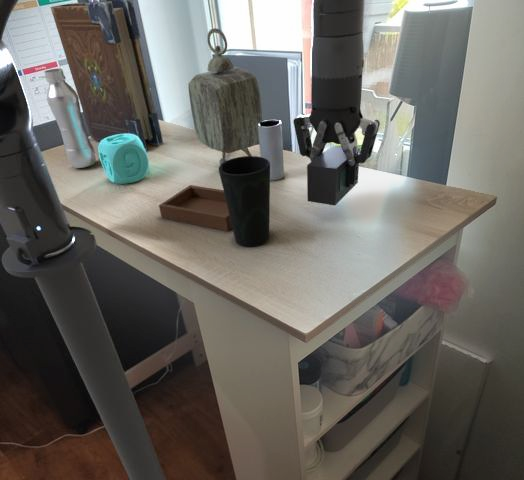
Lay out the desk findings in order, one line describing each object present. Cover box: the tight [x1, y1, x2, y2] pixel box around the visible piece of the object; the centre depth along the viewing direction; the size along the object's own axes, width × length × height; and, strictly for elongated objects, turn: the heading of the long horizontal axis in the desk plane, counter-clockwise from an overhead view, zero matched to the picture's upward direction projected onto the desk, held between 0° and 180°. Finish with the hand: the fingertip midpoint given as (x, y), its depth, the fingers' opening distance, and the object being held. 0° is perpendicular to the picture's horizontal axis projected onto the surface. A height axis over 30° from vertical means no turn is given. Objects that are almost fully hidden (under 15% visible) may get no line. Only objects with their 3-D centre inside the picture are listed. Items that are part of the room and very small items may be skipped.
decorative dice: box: [97, 133, 150, 185], centre depth 101 cm, size 8×8×8 cm
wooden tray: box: [158, 184, 233, 232], centre depth 86 cm, size 10×15×2 cm, turn 60°
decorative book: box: [50, 0, 164, 152], centre depth 114 cm, size 23×7×30 cm, turn 50°
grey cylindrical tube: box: [258, 119, 285, 181], centre depth 94 cm, size 4×4×10 cm
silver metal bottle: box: [43, 68, 97, 169], centre depth 106 cm, size 6×7×20 cm
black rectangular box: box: [306, 144, 361, 206], centre depth 79 cm, size 10×5×6 cm, turn 150°
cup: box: [218, 155, 271, 248], centre depth 74 cm, size 8×8×12 cm
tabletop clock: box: [188, 27, 263, 165], centre depth 97 cm, size 14×9×25 cm, turn 34°
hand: (334, 183), depth 80 cm, fingers closed on black rectangular box, 5 cm apart
